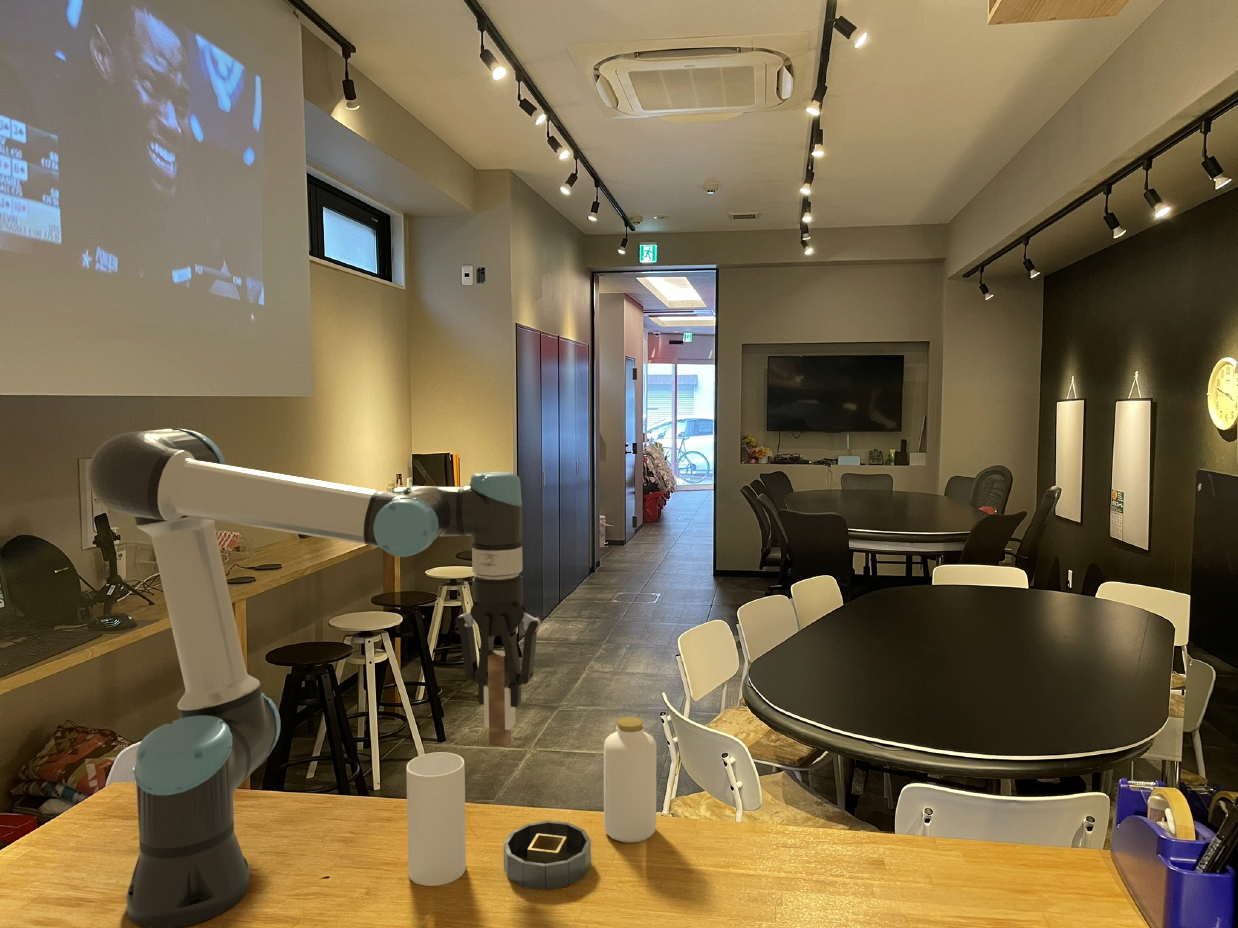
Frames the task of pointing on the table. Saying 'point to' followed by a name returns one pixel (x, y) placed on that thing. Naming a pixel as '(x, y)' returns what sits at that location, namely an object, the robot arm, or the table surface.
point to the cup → (436, 818)
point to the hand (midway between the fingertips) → (500, 725)
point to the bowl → (547, 855)
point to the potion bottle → (630, 782)
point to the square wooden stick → (497, 699)
